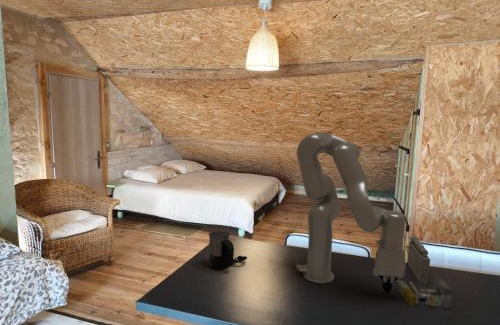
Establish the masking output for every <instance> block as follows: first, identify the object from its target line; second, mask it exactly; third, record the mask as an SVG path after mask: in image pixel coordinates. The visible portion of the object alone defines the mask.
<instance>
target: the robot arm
mask: <svg viewBox="0 0 500 325" xmlns="http://www.w3.org/2000/svg"><path fill="white" fill-rule="evenodd" d="M360 152H361V151H360V149H359V147H358V146H357V145H356V144H355V143H353V142H351V141H349V140H346V139H343V138H341V137H339V136H337V135H333V134H331V133H328V132H315V133H314V132H313V133H310V134H308V135H305V137H303V138H302V139H301V140H300V142H299V143H298V146H297V148H296V157H297V158H296V159H297V162H298V167H299V169H300V174H301V179H302V183H303V187H304V192H305V195H306V196H307V197H308V199H309V200H312V201H316V203H315V204H313V205H312V206H311V207H310V209H309V210H308V212H307V221H308V222H307V223H308V242H307V243H308V247H307V250H308V251H307V262H306V263H305V264H296V270H298V271H299V272H303V277H304V279H306V280H308V281H309V282H312V283H315V284H328V283H331V282H333V281H334V279H335V274H334V273H333V272H332V271H331V269H332V268H331V267H332V249H333V248H332V247H333V228H332V227H333V226H332V223H333V222H334V221H335V220H336V219H337V218H338V217H339V215H340V214H341V206H340V202H339V197H338V193H337V188H336V185H335V182H334V180H333V179H332V178H331V177H330V175H328V174H325V173H323V169H322V164H321V162H320V160H319V159H318V155H320V154H326V155H329V156H331V157H332V159H333V162H334V164H335V167H336V169H337V171H338V172H339V175H340V177H341V180H342V181H343V185H344V187H345V190H346V195H347V196H346V197H347V201H348V205H349V208H350V211H351V214H352V215H353V217H354V220H355V222H356V223H357V225H358V227H359V228H360V229H362V230H363V231H364V232H369V233H370V232H374V231H377V229H379V227H381V234H380V239H378V240H376V245H378V246H377V249H376V253H375V257H374V262H373V270H372V271H373V272H372V274H373V276H375V277H378V278H380V280H381V281H382V284H381V285H382V286H381V288H382V290H383V292H384V293H385V294H390V293H391V291H392V289H393V288H392V287H393V284H394V283H395V281H397V280H403V279H404V278H405V274H406V251H405V249H404V248H403V246H404V238H405V228H406V219H407V218H406V214H404V213H403V212H401V211H397V210H388V209H385V208H383V207H379V206H376V205H375V206H374V205H372V204H371V202H370V198H369V195H368V183H369V182H368V177H367V176H366V174H365V171H364V169H363V167H362V165H361V162H360V160H359V158H360V155H361V153H360Z"/></svg>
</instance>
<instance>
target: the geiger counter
mask: <svg viewBox="0 0 500 325" xmlns="http://www.w3.org/2000/svg"><path fill="white" fill-rule="evenodd" d="M409 240H410V241H409V243H408V245H406V247H405V249H406V253H407V261H406V263H408V264H407V265H408V267H409V270H411V272H412V274H413V276H414V277H415V278H416V280H417V282H418V283H419V284H420V285H428V284H429V283H428V282H429V276H430V275H429V274H430V265H431V263H430V262H431V258H430V257H429V256H428V255H429V252H428V250H427V248H425V245H423V244H422V243H421V241H420V240H419V238H418V236H416V235H411V236H410V237H409Z"/></svg>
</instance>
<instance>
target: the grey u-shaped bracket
mask: <svg viewBox="0 0 500 325" xmlns="http://www.w3.org/2000/svg"><path fill="white" fill-rule="evenodd" d="M433 282H434V283H433V289H431V288H430V289H428V288H427V289H428V291H429V293H430V294H434V295H440V298H438V297H433V296H432V297H433V298H434V301H433V306H431V298H430V297H427V296H426V299H424V303H425V304H426V306H430V307H441V308H442V309H451V306H452V299H453V289H452V288H451V286H449V284H447V282H446V281H445V280H444V278H442V277H436V276H435V277H434V281H433ZM425 289H426V288H419V293H423V294H425Z"/></svg>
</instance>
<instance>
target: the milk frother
mask: <svg viewBox="0 0 500 325" xmlns="http://www.w3.org/2000/svg"><path fill="white" fill-rule="evenodd" d="M230 235H231V233H230V232H229V231H225V230H214V231H211V232H209V233H208V236H209V238H208V239H209V243H208V244H209V263H208V267H209V268H210V269H211V270H214V271H222V270H226V269H228V268H230V267H233V266H234V265H235V264H239V263H243V262H244V261H246V260H248V256H246V255H245V256H243V255H241V254H240V255H238V256H236V258H234V255H235V254H234V253H235V248H234V243H233V242H232V241H231V240H230Z"/></svg>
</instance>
